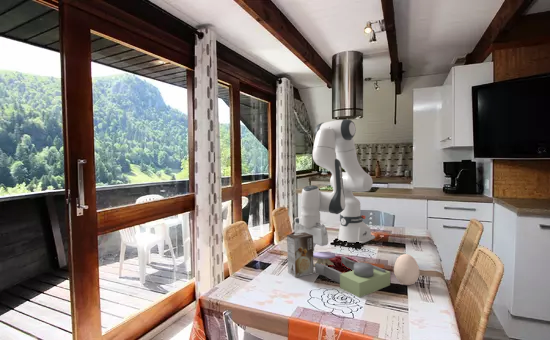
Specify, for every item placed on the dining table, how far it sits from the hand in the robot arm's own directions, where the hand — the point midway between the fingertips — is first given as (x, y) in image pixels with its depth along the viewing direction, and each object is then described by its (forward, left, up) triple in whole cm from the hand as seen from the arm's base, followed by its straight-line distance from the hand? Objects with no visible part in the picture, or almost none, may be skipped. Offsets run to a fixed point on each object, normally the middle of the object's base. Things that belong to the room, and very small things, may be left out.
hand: (310, 250), depth 135 cm
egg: (-13, +40, -5) cm, 42 cm away
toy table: (0, +9, -5) cm, 10 cm away
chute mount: (0, +20, -5) cm, 20 cm away
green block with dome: (+1, +32, -5) cm, 33 cm away
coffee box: (+13, +9, -5) cm, 16 cm away
